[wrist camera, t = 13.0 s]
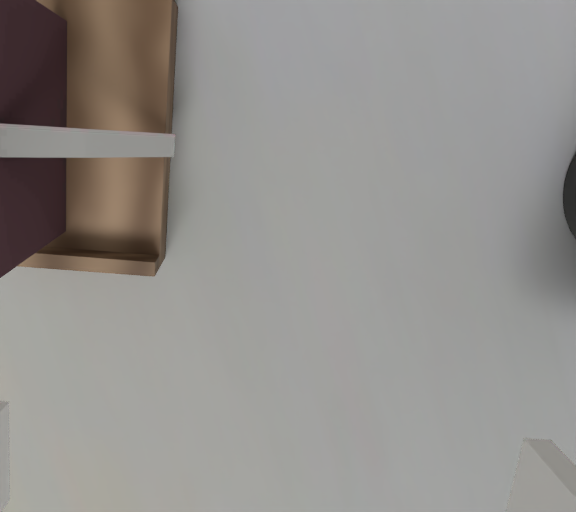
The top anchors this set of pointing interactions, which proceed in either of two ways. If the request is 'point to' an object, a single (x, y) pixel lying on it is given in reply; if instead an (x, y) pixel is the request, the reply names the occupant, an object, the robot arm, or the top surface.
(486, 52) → the top surface
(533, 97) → the top surface
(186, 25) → the top surface
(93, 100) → the walnut ledge
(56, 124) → the picture frame
